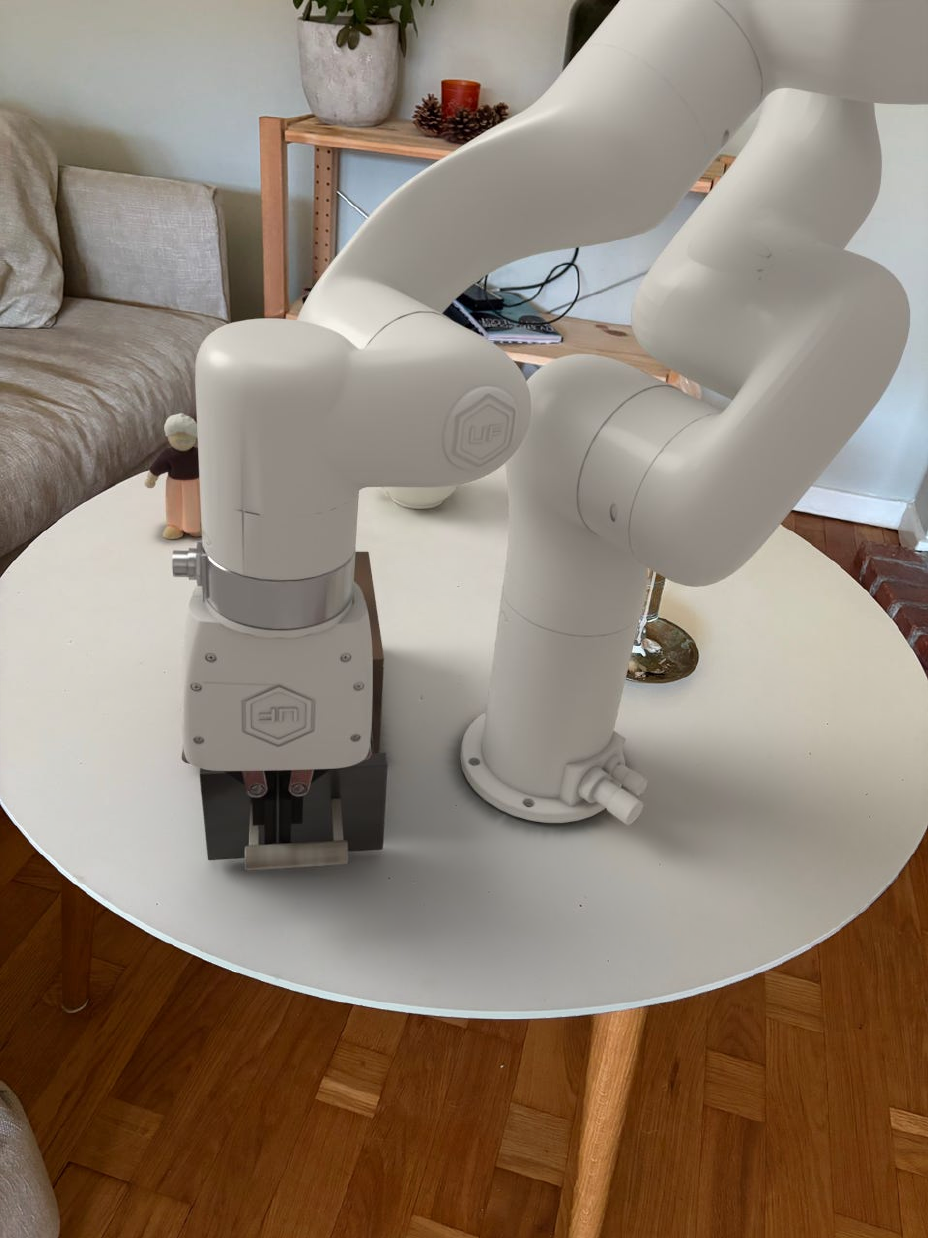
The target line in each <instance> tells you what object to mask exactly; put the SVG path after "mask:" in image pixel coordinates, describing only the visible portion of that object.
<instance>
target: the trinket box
mask: <svg viewBox="0 0 928 1238" xmlns="http://www.w3.org/2000/svg"><path fill="white" fill-rule="evenodd" d="M459 486H460V485H455V486H447V487H381V488H382V490H383V491H384V492H385V493H387V495H388V496H390V499H391V500H392V502H394V503H395V504H396V505H398V506H401V507H403V508H407V509H412V510H429V509H433V508H437V507H439V506H440V505H442V504H443V502H444V501H445V500H446V499H447V498H449V497H450V496H452V495H453V493H454V492H455V491H456V490H457V489H458V487H459Z"/></svg>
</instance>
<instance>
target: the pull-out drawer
mask: <svg viewBox="0 0 928 1238" xmlns="http://www.w3.org/2000/svg"><path fill="white" fill-rule="evenodd" d="M370 743H371V752H372V753H371V757H370V758H369V759H367V760H363V761H361V762H359V763H357V764H355V765H352V766H349V767H344V768H335V769H331V770H329V771H328V772H326V773H325V774H324V775H322V776H321V777H320V778H318V779H317V780H315V781H314V782H313V783H311V784H310V788H309V791H308V793H307V794H305V795H304V796H303V824H291V843H287V844H282V843H279V770H277V834H276V843H273V844H270V845H264V825H255V826H253V812H252V797H251V796H249V795H248V794H247V792H246V787H245V785H243V784H242V783H240V782H239V781H238V780H236V779H235V778H233V777H232V776H230V775H229V774H227V773H226V772H224V771H212V770H205V769H202V768H199V774H198V775H199V782H200V794H201V795H200V796H201V803H202V814H203V825H204V835H205V847H206V856H207V857H206V858H207V860H208V861H222V860H224V861H225V860H238V859H239V860H240V859H244V869H245V871H255V870H256V871H257V870H269V869H271V870H272V869H273V870H274V869H289V868H303V867H304V868H305V867H318V866H319V867H320V866H321V867H322V866H335V865H336V866H337V865H347V864H348V863H349V853H350V852H351V853H352V852H353V853H355V852H367V851H368V852H370V851H382V850H383V849H384V839H385V836H384V835H385V819H386V803H387V787H388V785H387V784H388V767H389V765H388V757H387V753H386V752H380V753H373V735H372V726H371V738H370Z"/></svg>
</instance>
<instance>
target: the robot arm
mask: <svg viewBox="0 0 928 1238" xmlns="http://www.w3.org/2000/svg"><path fill="white" fill-rule="evenodd" d="M762 103H763V104H762ZM761 104H762V108H761V111H760V113H759V117H758V121H757V124H756V126H755V128H754V130H753V132H752V134H751V136H750V137H749V139H748V140H747V142H746V143H745V145H744V146H743V148H742V149H741V151H740V152H739V153H738V155H737V156H736V157H735V159H734V161H733V162H732V163H731V165H729V167H728V169H727V170H726V171H725V172H724V174H723V175H722V176H721V177H720V179H719V180H718V181H717V182H716V184H715V185H714V186H713V187H712V188H711V190H710V191H708V193H707V195H706V196H705V197H704V199H703V200H702V201H701V202H700V203H699V205H698V206H697V207H696V209H694V211H693V212H692V213H691V215H690V216H689V217H688V219H687V220H686V221H685V222H684V224H683V225H682V226H681V228H680V229H679V230H678V231H677V233H676V234H675V235H674V236H673V238H672V239H671V240H670V241H669V243H668V244H667V245H666V246H665V247H664V249H663V250H662V252H661V253H659V256H657V258H656V260H655V261H654V263H653V264H652V265H651V267H650V269H648V271H647V273H646V274H645V276H644V277H643V279H642V281H641V283H640V284H639V285H638V288H637V290H636V292H635V295H634V299H633V302H632V305H631V310H630V323H631V324H630V325H631V330H632V333H633V336H634V337H635V339H636V342H637V343H638V345H639V346H640V348H641V349H642V350H643V351H644V352H645V353H646V354H647V355H648V356H649V357H651V358H652V359H653V360H654V361H655V362H657V363H658V364H660V365H662V366H663V367H665V368H666V369H669V370H670V371H672V372H674V373H676V374H678V375H680V376H682V377H683V378H685V379H687V380H689V381H691V382H693V383H694V384H697V385H700V386H701V387H703V388H706V389H708V390H710V391H712V392H714V393H716V394H717V395H720V396H723V397H725V398H727V399H729V400H731V401H730V403H729V405H728V406H727V407H726V408H725V409H724V410H723V409H720V408H718V407H716V406H714V405H713V404H710V403H708V402H705V401H704V400H701V399H699V398H697V397H696V396H694V395H691V394H689V393H687V392H685V391H684V390H683V389H681V388H679V387H678V386H675V385H673V384H670V383H669V382H666V381H664V380H662V379H660V378H658V377H656V376H653V375H651V374H650V373H648V372H645V371H643V370H641V369H639V368H636V367H635V366H633V365H631V364H628V363H626V362H623V361H620V360H618V359H615V358H612V357H607V356H604V355H599V354H593V353H576V354H575V353H574V354H569V355H565V356H561V357H557V358H555V359H553V360H551V361H549V362H547V363H545V364H544V365H542V366H541V367H539V368H538V369H537V370H536V371H534V373H533V374H532V375H531V376H530V377H528V379H526V377H525V376H524V374H523V372H522V370H521V368H520V367H519V366H518V365H517V363H516V362H515V361H514V360H513V359H512V358H511V356H510V355H509V354H508V353H507V352H505V351H504V349H502V348H501V347H499V346H498V345H497V344H495V343H494V342H492V341H491V340H489V339H487V338H486V337H484V336H483V335H481V334H479V333H477V332H475V331H474V330H472V329H470V328H467V327H465V326H464V325H461V324H460V323H458V322H456V321H454V320H453V319H451V318H450V317H449V316H447V315H445V314H444V312H445V311H446V310H447V309H448V308H449V306H450V305H451V304H453V302H454V301H455V300H457V298H459V297H461V295H462V294H463V293H464V292H465V291H467V290H468V289H469V288H470V287H472V286H473V285H474V284H476V283H477V282H479V281H480V280H482V279H483V278H484V277H486V276H487V275H490V274H491V273H493V272H495V271H496V270H499V269H500V268H502V267H505V266H507V265H510V264H511V263H515V262H517V261H519V260H523V259H526V258H530V257H533V256H537V255H541V254H546V253H551V252H557V251H562V250H563V251H564V250H570V249H576V248H583V247H590V246H595V245H600V244H606V243H610V242H614V241H619V240H625V239H629V238H632V237H636V236H639V235H643V234H646V233H648V232H650V231H652V230H655V229H656V228H657V227H659V226H661V225H662V224H663V223H664V222H665V221H667V219H668V218H669V217H670V216H671V215H672V213H673V212H674V211H675V210H676V209H677V207H678V206H679V205H680V204H681V202H682V201H683V199H684V198H685V197H686V196H687V195H688V193H689V192H690V191H692V189H693V187H694V186H695V184H697V183H698V181H699V180H700V178H701V177H702V176H703V175H704V173H705V172H706V171H707V170H708V169H709V167H710V166H711V165H712V164H713V162H714V161H715V160H716V159H717V158H718V156H719V155H720V154H721V152H722V151H723V150H724V149H725V147H726V146H727V145H728V144H729V143H730V142H731V140H733V138H734V137H735V136H736V134H737V133H738V132H739V131H740V129H741V128H742V127H743V126H744V124H745V123H746V122H747V120H748V119H750V117H751V116H752V115H753V113H755V112H756V110H757V109H758V108H759V107H760V106H761ZM875 104H880V105H882V104H883V105H884V104H885V105H911V106H913V105H914V106H916V105H917V106H918V105H919V106H920V105H921V106H922V105H924V106H925V105H927V106H928V0H619V1H618V3H617V4H616V5H615V6H614V7H613V8H612V10H611V11H610V12H609V13H608V15H606V17H605V18H604V20H603V21H602V22H601V24H599V26H598V27H597V28H596V30H595V31H594V32H593V33H592V35H591V36H590V37H589V38H588V40H587V41H586V42H585V43H584V44H583V46H582V47H581V48H580V50H579V51H578V52H577V53H576V54H575V55H574V57H573V58H572V59H571V61H570V62H569V63H568V64H567V65H566V67H565V68H564V69H563V71H562V72H561V73H560V75H559V76H558V77H557V79H556V80H555V81H554V82H553V83H552V84H551V86H550V87H549V88H548V89H547V90H546V91H545V92H544V93H543V94H542V95H541V96H540V97H539V98H538V99H537V100H536V101H535V102H534V103H533V104H531V105H530V106H528V107H527V108H525V109H524V110H523V111H521V112H519V113H517V114H515V115H514V116H512V117H510V118H507V119H505V120H504V121H501V122H500V123H498V124H496V125H494V126H493V127H491V128H489V129H487V130H486V131H484V132H482V133H481V134H479V135H478V136H476V137H475V138H473V139H471V140H469V141H468V142H466V143H464V144H463V145H462V146H460V147H458V148H457V149H455V150H454V151H452V152H451V153H449V154H447V155H446V156H444V157H442V158H439V160H437V161H435V162H434V163H432V164H431V165H429V166H427V167H426V168H424V169H423V170H422V171H420V172H418V173H417V174H416V175H414V176H413V177H411V178H410V179H408V180H407V181H406V182H405V183H403V184H402V185H401V186H400V187H398V188H397V189H395V190H394V191H393V192H391V194H390V195H389V196H388V197H386V198H385V199H384V200H383V201H382V202H381V203H380V204H379V205H378V206H377V207H376V208H375V209H374V210H373V211H372V212H371V213H370V214H369V216H367V218H366V219H365V220H364V221H363V223H362V224H361V225H360V226H359V227H358V229H357V230H356V231H355V232H354V234H353V235H352V236H351V237H350V239H349V240H348V241H347V242H346V244H345V245H344V246H343V247H342V249H341V250H340V251H339V252H338V253H337V255H336V256H335V257H334V259H332V261H331V262H330V263H329V265H328V266H327V268H326V269H325V270H324V271H323V273H322V274H321V276H320V277H319V279H318V280H317V282H316V283H315V284H314V286H313V287H312V289H311V290H310V292H309V294H308V296H307V298H306V299H305V301H304V303H303V304H302V307H301V309H300V311H299V313H298V315H297V318H296V319H288V318H278V317H277V318H271V317H270V318H269V317H266V318H253V319H251V318H250V319H245V320H239V321H233V322H229V323H227V324H224V325H222V326H220V327H218V328H216V329H215V330H213V331H212V332H210V333H209V334H208V335H207V336H206V337H205V338H204V340H203V341H202V342H201V344H200V346H199V349H198V352H197V355H196V358H195V363H194V365H195V366H194V367H195V368H194V371H195V373H194V375H195V376H194V379H195V380H194V386H195V387H194V388H195V407H196V408H195V409H196V410H195V411H196V424H197V433H198V438H197V448H198V456H199V479H200V501H201V523H202V536H201V541H197V544H196V547H189V548H188V550H175V549H174V550H173V551H172V560H171V564H172V567H171V568H172V576H173V577H174V578H188V580H189V581H196V586H195V587H194V589H193V591H192V596H191V597H190V600H189V604H188V607H187V613H186V617H185V623H184V630H183V640H182V652H181V685H180V687H181V688H180V689H181V691H180V692H181V697H180V699H181V704H180V705H181V735H182V748H181V749H182V750H181V760H182V761H183V762H184V763H185V764H188V765H191V766H194V767H196V768H198V769H200V768H202V769H205V770H212V771H224V772H226V773H227V774H229V775H230V776H232V777H233V778H235V779H236V780H238V781H239V782H240V783H242V784H243V785H245V787H246V792H247V794H248V795H249V796H251V797H252V812H253V826H255V825H264V845H270V844H273V843H276V834H277V770H279V843H282V844H287V843H291V824H303V796H304V795H305V794H307V793H308V791H309V788H310V784H311V783H313V782H314V781H315V780H317V779H318V778H320V777H321V776H322V775H324V774H325V773H326V772H328V771H329V770H331V769H335V768H344V767H349V766H352V765H355V764H357V763H359V762H361V761H363V760H367V759H369V758H370V757H371V753H372V752H371V743H370V738H371V726H372V695H373V659H372V638H371V629H370V621H369V615H368V610H367V605H366V601H365V599H364V595H363V592H362V590H361V588H360V587H359V586H358V585H357V584H356V583H355V582H354V567H355V552H356V551H357V550H356V545H357V531H358V529H357V528H358V515H359V514H358V513H359V497H360V491H361V490H363V489H365V488H382V487H447V486H455V485H459V486H461V485H465V484H468V483H472V482H474V481H477V480H480V479H482V478H485V477H486V476H489V475H490V474H492V473H494V472H496V471H497V470H498V469H500V468H501V467H502V466H503V465H505V475H506V487H507V498H508V537H507V549H506V558H505V568H504V574H503V575H504V576H503V582H502V587H501V595H500V603H499V610H498V618H497V625H496V631H495V632H496V633H495V640H494V648H493V655H492V664H491V671H490V679H489V685H488V686H489V687H488V693H487V702H486V710H485V711H484V712H482V713H481V714H480V715H478V716H477V717H476V718H475V719H473V721H472V722H471V723H470V724H469V725H468V727H467V728H466V730H465V732H464V734H463V737H462V740H461V745H460V755H459V756H460V765H461V770H462V772H463V774H464V777H465V779H466V781H467V782H468V784H469V785H470V786H471V787H472V789H473V790H474V792H475V793H477V794H478V795H479V796H480V797H481V798H482V799H483V800H484V801H486V802H487V803H489V804H491V806H493V807H495V808H496V809H498V810H499V811H502V812H504V813H507V814H508V815H511V816H513V817H517V818H520V819H524V820H527V821H531V822H537V823H544V824H565V823H570V822H571V823H573V822H579V821H581V820H585V819H587V818H591V817H593V816H595V815H597V814H599V813H601V812H603V811H604V810H605V809H606V811H607V812H608V813H609V814H611V815H612V816H613V817H615V818H616V819H618V820H619V821H621V822H622V823H624V824H625V825H626V826H630V825H632V824H634V822H635V821H636V820H637V819H638V818H639V816H640V815H641V813H642V811H643V809H644V802H643V801H642V800H640V799H639V798H637V797H638V796H641V795H642V794H643V793H644V792H645V790H646V789H647V788H648V784H649V780H648V779H647V778H645V777H644V776H642V775H641V774H639V773H638V772H637V771H635V770H634V769H630V768H629V767H628V766H626V758H625V755H624V753H623V750H624V746H625V743H626V738H625V737H624V736H623V735H621V734H619V733H618V732H616V731H615V727H616V722H617V717H618V713H619V709H620V706H621V701H622V696H623V693H624V688H625V684H626V680H627V675H628V671H629V666H630V662H631V657H632V654H633V649H634V645H635V641H636V637H637V631H638V628H639V624H640V619H641V615H642V613H643V608H644V605H645V604H644V603H645V599H646V594H647V588H648V580H649V570H651V571H652V572H654V573H656V574H657V575H659V576H661V577H663V578H664V579H666V580H668V581H670V582H673V583H675V584H679V585H682V586H685V587H691V588H692V587H694V588H698V587H706V586H707V587H708V586H710V585H715V584H717V583H719V582H721V581H723V580H725V579H727V578H728V577H730V576H732V575H733V574H734V573H736V572H737V571H739V569H741V568H742V567H743V566H744V565H745V564H746V563H747V562H748V561H749V560H750V559H752V558H753V557H754V556H755V555H756V553H757V552H758V551H759V550H760V549H761V548H762V547H763V545H764V544H765V543H766V542H767V541H768V540H769V538H770V537H771V536H772V535H773V534H774V533H775V532H776V530H777V529H778V528H779V527H780V525H781V524H782V523H783V522H784V521H785V519H786V518H787V517H788V516H789V514H790V513H791V512H792V511H793V510H794V508H795V507H796V506H797V505H798V503H799V502H800V501H801V500H802V499H803V498H804V496H805V495H806V493H807V492H808V491H809V490H810V489H811V487H812V486H813V485H814V483H815V482H816V481H817V480H818V479H819V477H820V476H822V474H823V473H824V471H826V469H827V468H828V466H829V465H830V464H831V463H832V462H833V461H834V460H835V458H836V457H837V455H838V454H839V453H840V452H841V451H842V449H843V448H844V447H845V446H846V445H847V444H848V442H849V441H850V439H851V438H852V437H853V436H854V435H855V434H856V432H857V431H858V430H859V429H860V428H861V426H862V425H863V423H864V422H865V421H866V419H867V418H868V416H869V415H870V414H871V413H872V411H873V410H874V408H875V407H876V406H877V404H878V403H879V402H880V401H881V399H882V397H883V396H884V394H885V392H886V391H887V389H888V387H889V386H890V384H891V382H892V380H893V378H894V376H895V374H896V371H897V370H898V368H899V366H900V363H901V360H902V358H903V354H904V352H905V348H906V345H907V343H908V339H909V334H910V328H911V327H910V326H911V305H910V302H909V297H908V294H907V292H906V290H905V288H904V286H903V284H902V283H901V281H900V280H899V279H898V278H897V276H896V275H895V274H894V273H893V272H892V271H890V270H889V269H888V268H887V267H885V266H883V264H881V263H878V262H877V261H875V260H873V259H871V258H869V257H867V256H864V255H861V254H858V253H856V252H853V251H849V250H846V249H845V248H846V247H847V245H848V244H849V243H850V242H851V240H852V239H853V237H855V235H856V233H857V232H858V231H859V229H861V227H862V226H863V224H864V223H865V221H866V220H867V219H868V217H869V215H870V214H871V212H872V210H873V208H874V206H875V204H876V202H877V200H878V197H879V195H880V194H879V193H880V189H881V184H882V171H883V170H882V169H883V158H882V156H883V155H882V147H881V139H880V134H879V130H878V124H877V119H876V109H875V108H876V107H875ZM622 786H623V787H624V788H626V789H628V791H630V792H631V793H630V792H628V791H627V790H625V789H624V788H623V787H622ZM632 793H633V794H635V795H636V796H637V797H636V796H634V795H633V794H632Z"/></svg>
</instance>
